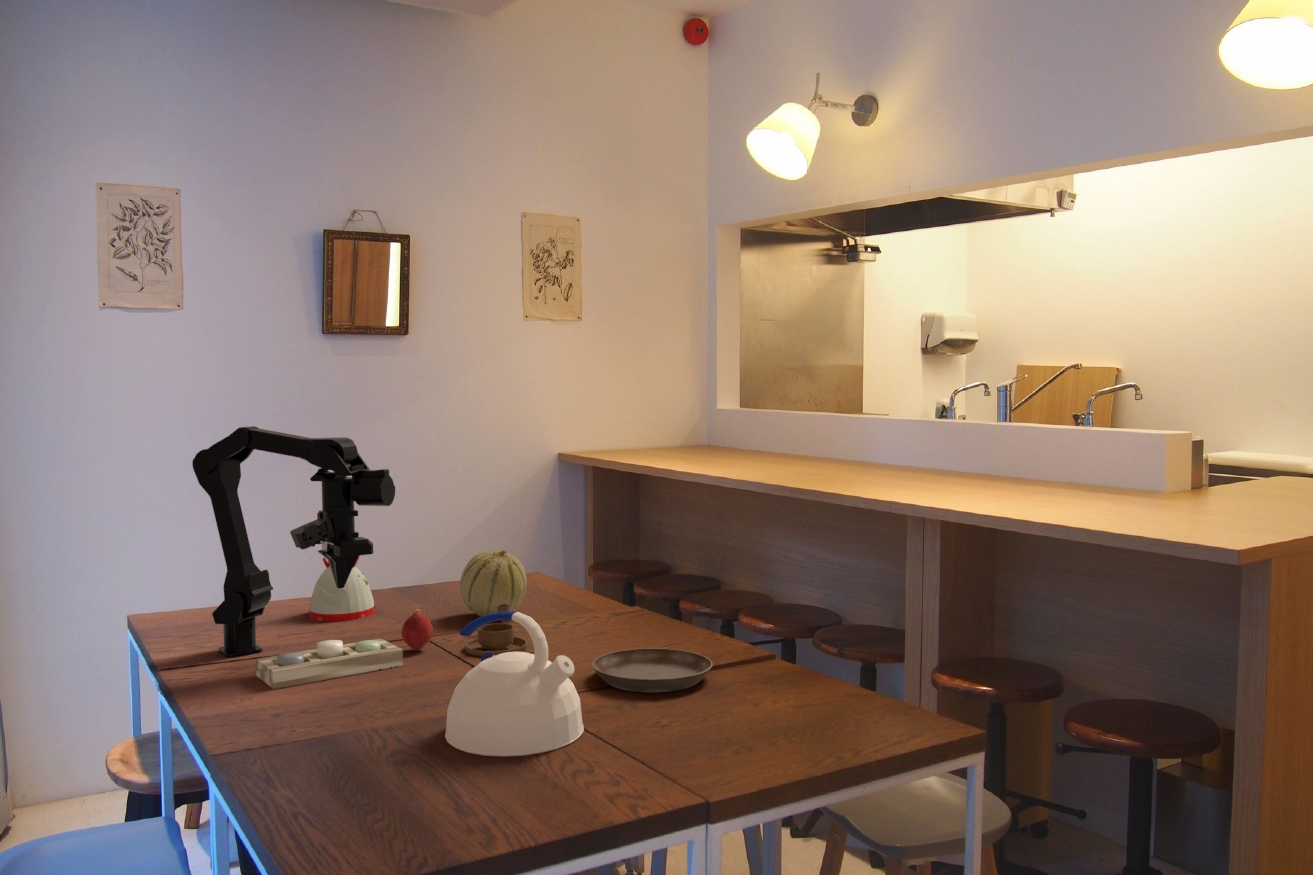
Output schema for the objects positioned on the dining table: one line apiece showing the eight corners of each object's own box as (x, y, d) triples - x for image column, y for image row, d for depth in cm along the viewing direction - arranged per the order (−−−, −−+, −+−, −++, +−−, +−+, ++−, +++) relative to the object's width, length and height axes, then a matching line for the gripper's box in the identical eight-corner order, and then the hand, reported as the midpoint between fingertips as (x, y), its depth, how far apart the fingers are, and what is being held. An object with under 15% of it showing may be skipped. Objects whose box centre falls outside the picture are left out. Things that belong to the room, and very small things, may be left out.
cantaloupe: (472, 608, 233) (471, 543, 233) (535, 610, 231) (534, 544, 230) (450, 624, 219) (449, 554, 218) (517, 625, 217) (516, 555, 216)
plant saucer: (639, 658, 192) (639, 640, 192) (734, 675, 180) (734, 657, 180) (568, 685, 175) (567, 665, 175) (667, 706, 163) (667, 686, 163)
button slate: (274, 668, 180) (273, 655, 180) (299, 664, 183) (299, 651, 183) (282, 674, 177) (281, 660, 176) (307, 669, 179) (307, 656, 179)
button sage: (352, 655, 188) (351, 642, 188) (375, 651, 191) (374, 638, 191) (361, 660, 185) (360, 647, 185) (384, 656, 188) (384, 643, 188)
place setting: (439, 654, 197) (438, 624, 196) (499, 631, 215) (499, 603, 214) (515, 664, 189) (515, 633, 189) (571, 639, 207) (571, 610, 207)
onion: (425, 655, 194) (424, 613, 193) (397, 653, 195) (396, 612, 194) (437, 647, 199) (437, 606, 199) (410, 646, 201) (409, 605, 200)
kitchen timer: (363, 621, 222) (362, 552, 221) (300, 621, 222) (298, 553, 221) (381, 607, 236) (380, 542, 235) (322, 607, 236) (320, 542, 235)
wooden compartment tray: (256, 675, 181) (255, 658, 181) (381, 653, 195) (380, 638, 195) (273, 688, 173) (273, 671, 173) (402, 665, 187) (402, 649, 187)
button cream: (313, 655, 184) (313, 642, 184) (337, 651, 187) (337, 638, 187) (322, 660, 181) (321, 647, 181) (346, 656, 183) (346, 643, 183)
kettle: (526, 768, 137) (524, 635, 136) (414, 741, 148) (411, 617, 147) (612, 725, 154) (611, 606, 153) (506, 703, 165) (504, 591, 164)
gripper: (278, 504, 194) (280, 585, 195) (312, 513, 179) (314, 602, 180) (336, 499, 201) (338, 578, 202) (373, 508, 186) (375, 593, 187)
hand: (340, 588), depth 193 cm, fingers closed
